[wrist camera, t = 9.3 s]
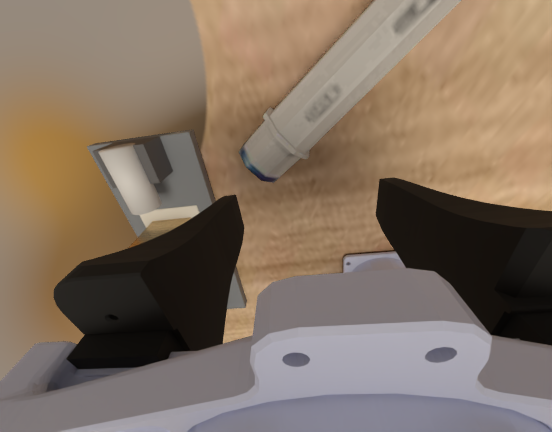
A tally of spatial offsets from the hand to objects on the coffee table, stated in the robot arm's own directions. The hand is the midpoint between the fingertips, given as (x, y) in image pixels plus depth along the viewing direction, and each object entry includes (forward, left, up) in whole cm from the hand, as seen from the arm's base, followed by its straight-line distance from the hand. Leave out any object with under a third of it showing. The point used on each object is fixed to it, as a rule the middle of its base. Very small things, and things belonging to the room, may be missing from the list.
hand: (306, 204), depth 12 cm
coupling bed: (-8, +13, -9) cm, 18 cm away
